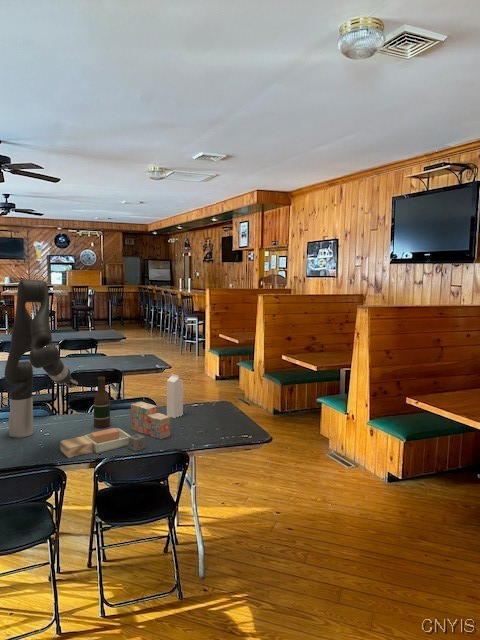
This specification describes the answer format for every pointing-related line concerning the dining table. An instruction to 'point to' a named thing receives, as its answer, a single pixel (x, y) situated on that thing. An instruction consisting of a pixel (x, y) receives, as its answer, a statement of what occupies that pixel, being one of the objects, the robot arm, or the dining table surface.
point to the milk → (174, 396)
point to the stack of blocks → (149, 420)
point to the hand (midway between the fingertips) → (70, 385)
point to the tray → (110, 442)
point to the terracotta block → (105, 435)
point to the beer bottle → (101, 406)
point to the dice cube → (136, 442)
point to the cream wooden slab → (76, 446)
